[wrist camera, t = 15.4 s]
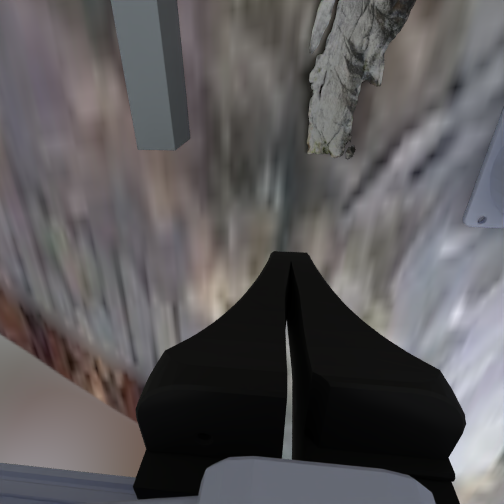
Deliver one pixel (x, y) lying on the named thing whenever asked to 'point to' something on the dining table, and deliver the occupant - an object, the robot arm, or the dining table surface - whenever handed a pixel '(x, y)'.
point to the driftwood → (348, 65)
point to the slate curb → (153, 71)
